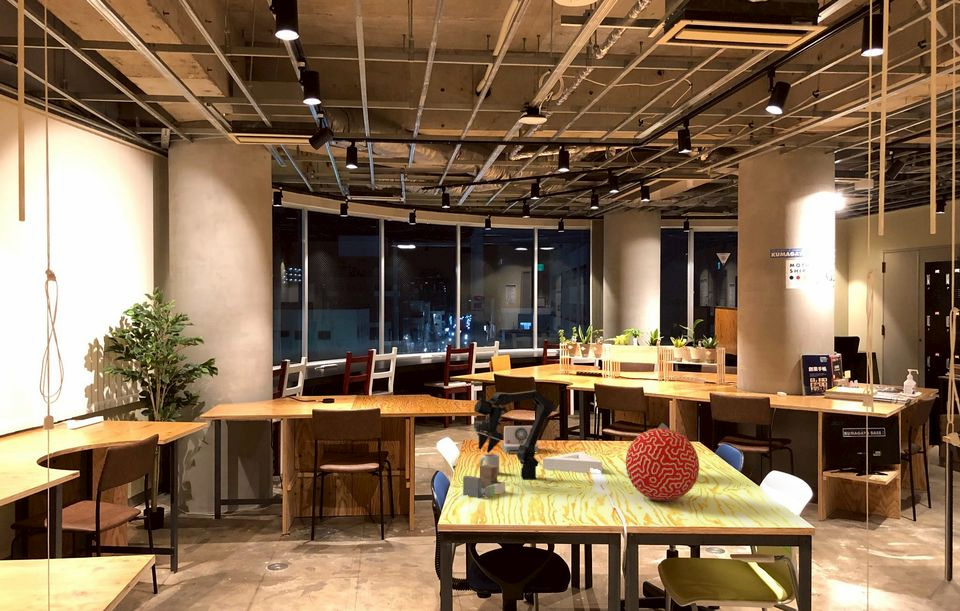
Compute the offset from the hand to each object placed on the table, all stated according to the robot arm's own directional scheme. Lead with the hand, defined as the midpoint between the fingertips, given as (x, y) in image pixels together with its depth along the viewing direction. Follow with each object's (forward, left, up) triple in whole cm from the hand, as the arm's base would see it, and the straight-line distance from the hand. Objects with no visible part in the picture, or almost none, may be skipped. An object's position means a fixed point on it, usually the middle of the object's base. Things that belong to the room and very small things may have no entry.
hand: (483, 450), depth 333 cm
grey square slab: (+5, +25, -15) cm, 30 cm away
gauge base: (-1, +19, -15) cm, 24 cm away
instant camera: (-22, -82, -15) cm, 86 cm away
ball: (-75, +32, -15) cm, 83 cm away
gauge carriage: (-4, +17, -13) cm, 22 cm away
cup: (-3, -21, -15) cm, 26 cm away
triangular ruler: (-49, -37, -16) cm, 63 cm away
